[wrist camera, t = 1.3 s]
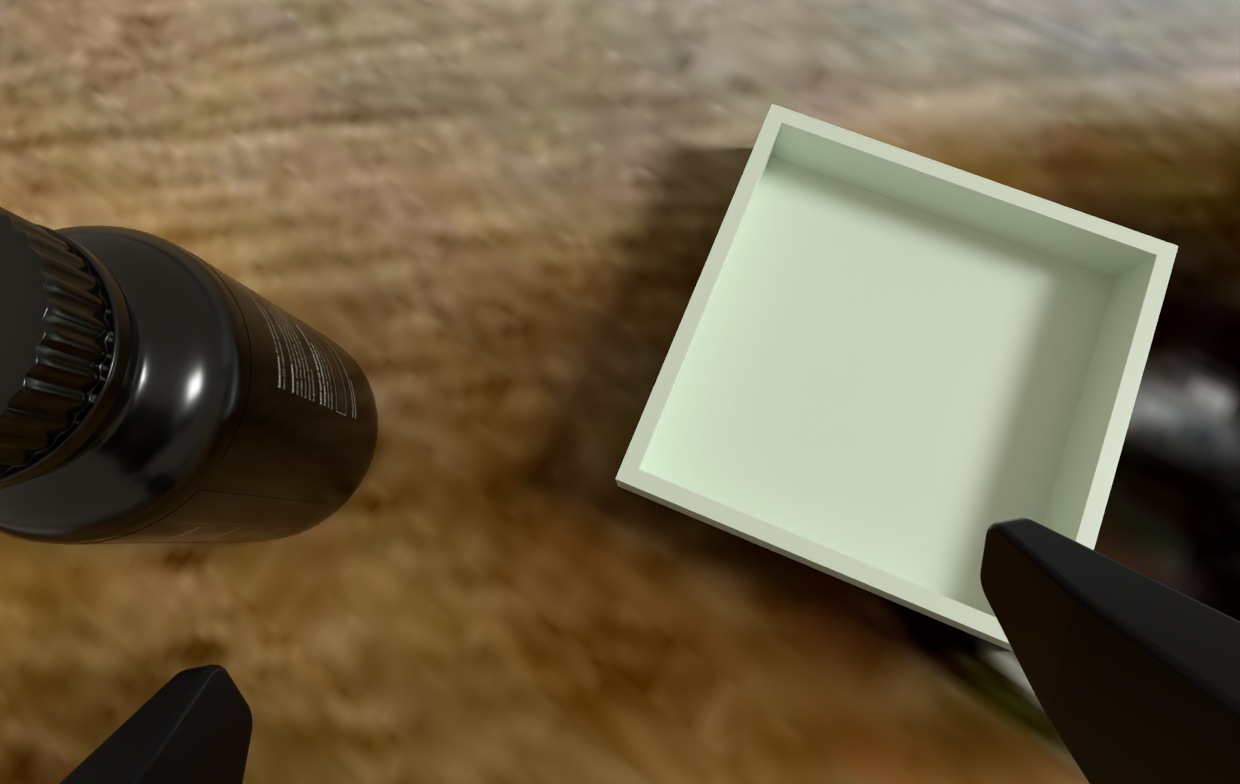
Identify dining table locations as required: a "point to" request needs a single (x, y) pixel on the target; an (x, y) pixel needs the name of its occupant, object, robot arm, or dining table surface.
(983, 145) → the dining table surface
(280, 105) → the dining table surface
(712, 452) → the tray
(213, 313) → the supplement bottle
